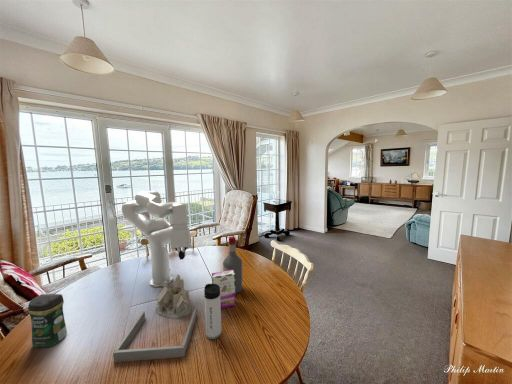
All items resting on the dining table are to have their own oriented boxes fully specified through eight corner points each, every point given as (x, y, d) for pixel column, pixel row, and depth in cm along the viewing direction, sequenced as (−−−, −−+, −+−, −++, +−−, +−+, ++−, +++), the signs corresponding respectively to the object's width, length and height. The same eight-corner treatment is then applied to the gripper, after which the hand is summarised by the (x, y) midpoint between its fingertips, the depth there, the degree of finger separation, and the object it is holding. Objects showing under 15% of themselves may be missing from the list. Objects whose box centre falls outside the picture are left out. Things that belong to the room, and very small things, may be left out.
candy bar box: (234, 300, 106) (233, 269, 104) (236, 305, 101) (235, 274, 99) (212, 303, 103) (211, 272, 101) (213, 310, 98) (212, 277, 96)
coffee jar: (27, 349, 77) (21, 302, 76) (49, 332, 85) (44, 290, 84) (52, 349, 77) (46, 302, 75) (71, 333, 85) (67, 290, 83)
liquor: (230, 296, 109) (229, 241, 106) (222, 289, 116) (220, 237, 113) (244, 290, 114) (243, 237, 112) (235, 283, 121) (234, 234, 119)
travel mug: (214, 325, 88) (212, 280, 86) (224, 332, 84) (223, 286, 82) (202, 334, 83) (200, 287, 82) (212, 342, 79) (210, 293, 77)
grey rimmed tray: (143, 318, 93) (142, 311, 92) (197, 315, 95) (196, 308, 94) (113, 362, 71) (113, 352, 71) (184, 356, 73) (183, 347, 73)
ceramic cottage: (156, 303, 104) (155, 275, 102) (190, 296, 110) (190, 270, 108) (153, 326, 89) (152, 294, 87) (192, 317, 95) (192, 287, 93)
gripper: (163, 228, 107) (165, 262, 109) (192, 227, 108) (194, 260, 110) (168, 224, 115) (170, 256, 116) (195, 223, 116) (197, 255, 117)
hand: (182, 258), depth 113 cm, fingers closed
